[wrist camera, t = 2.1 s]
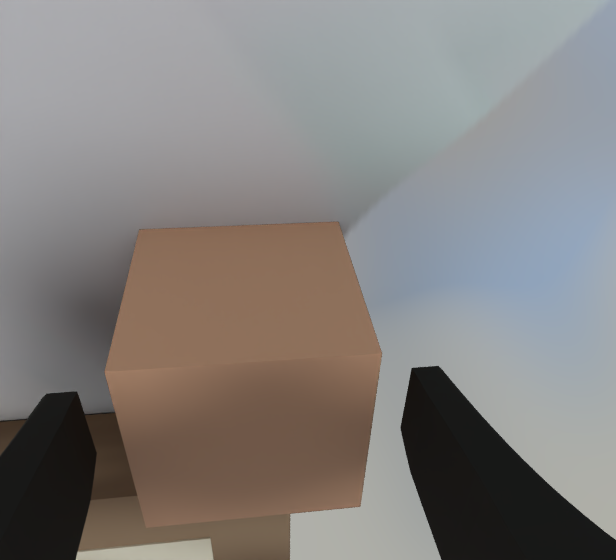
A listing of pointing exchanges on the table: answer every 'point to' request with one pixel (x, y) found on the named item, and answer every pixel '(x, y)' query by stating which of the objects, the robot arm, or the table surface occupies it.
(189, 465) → the cube
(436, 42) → the table surface
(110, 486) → the plinth
